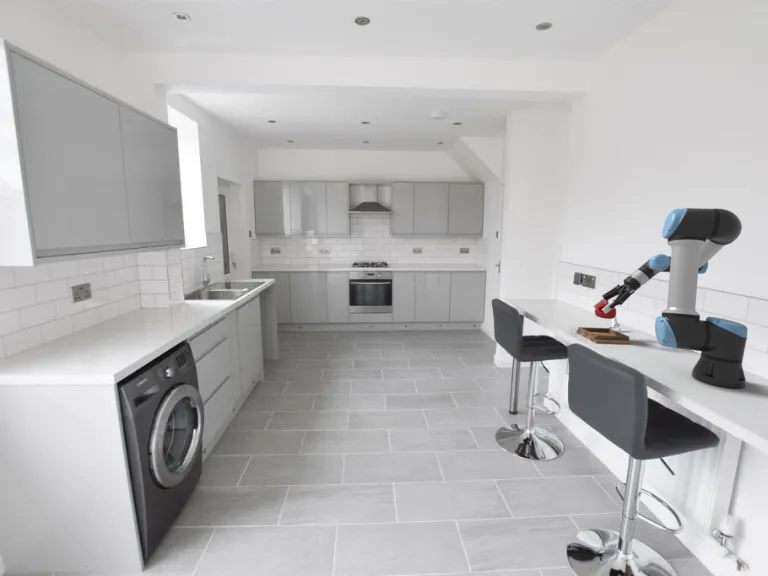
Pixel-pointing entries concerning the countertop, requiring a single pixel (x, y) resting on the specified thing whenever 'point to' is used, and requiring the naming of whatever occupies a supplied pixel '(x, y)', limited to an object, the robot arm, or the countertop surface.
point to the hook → (615, 325)
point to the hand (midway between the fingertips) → (599, 309)
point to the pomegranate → (601, 314)
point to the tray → (603, 335)
